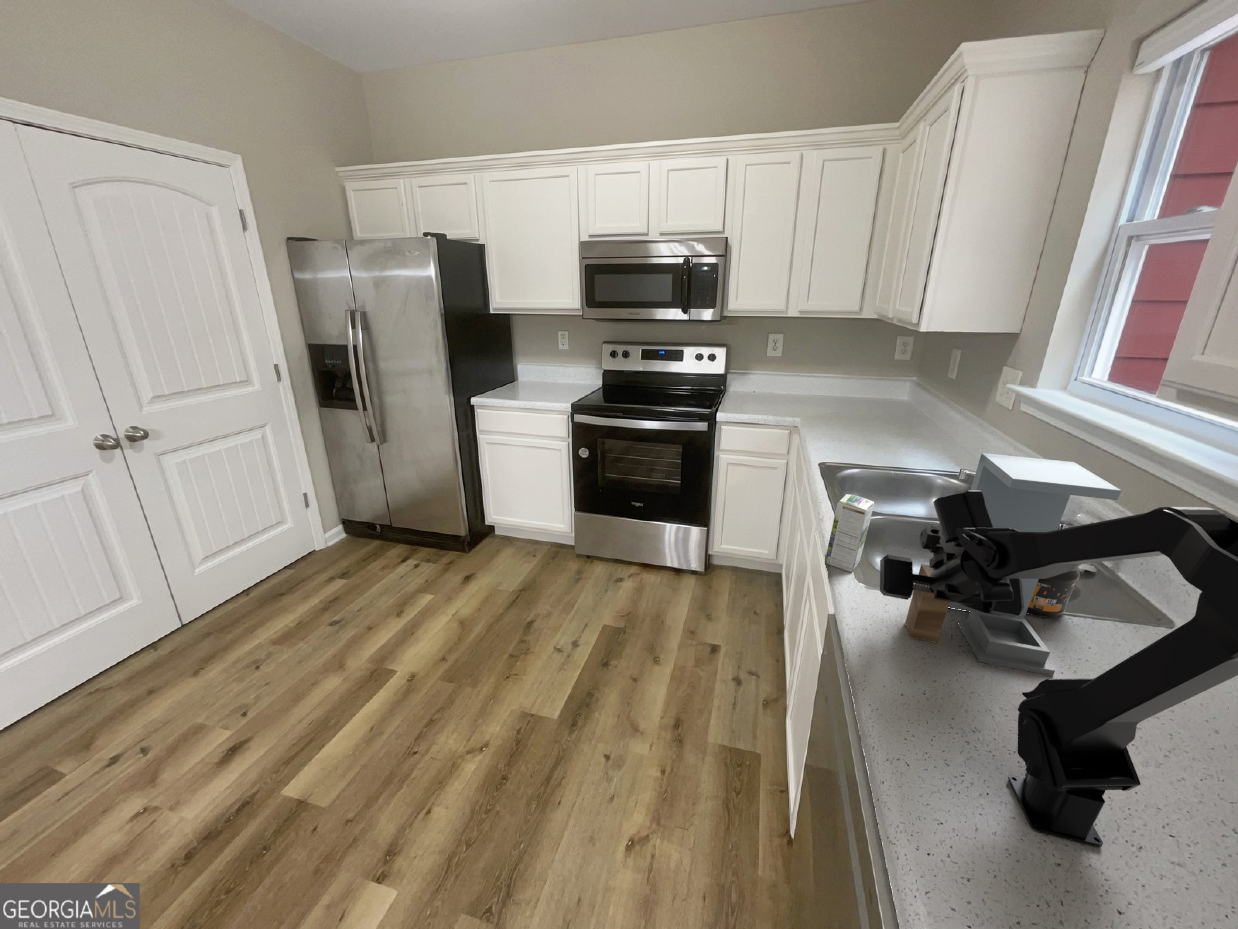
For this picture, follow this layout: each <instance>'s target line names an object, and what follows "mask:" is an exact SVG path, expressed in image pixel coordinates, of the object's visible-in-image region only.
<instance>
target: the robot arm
mask: <svg viewBox="0 0 1238 929" xmlns="http://www.w3.org/2000/svg"><path fill="white" fill-rule="evenodd" d="M932 503H933V506H934V509H935V513H936V516H937V519H938V523H939V525H938V526H935V525H931V526H930V527H925V528H923V529H922V530H921V532H920V534H919V541H920V547H921V549H923V550H928V551H929V552H930V553H932V554H933V557H931V558H930V559H929V563H928V564H929V565H930V568H933V571H932V572H931V574H930V576H923V575H918V574H915V573H914V572H913V571H914V570H913V568H914V566H913V565H914V564H913V563H914V562H913V560H912V558H910V557H908V556H907V557H906V556H898V555H893V554H885V556H883V557H882V558H881V559H880V560H879V592H880V594H882V595H883V596H884V597H890V598H895V599H900V600H909V599H911V598H912V596H913V592H914V590H916V591H922V592H928V593H934V599H937V600H943V601H949V602H955V603H958V604H960V605H963V606H966V607H969V608H972V609H974V610H977V611H980V612H983V613H988V614H994V615H1000V616H1008V617H1016V616H1019V615H1020V614H1021V613H1023V610H1024V600H1023V590H1022V581H1021V580H1020V579H1045V578H1050V577H1053V576H1056V575H1059V574H1063V573H1066V572H1068V571H1070V570H1071V569H1072V568H1073V567H1075V566H1078V565H1080V566H1081V565H1085V564H1086V565H1087V564H1096V563H1103V562H1112V561H1121V560H1129V559H1130V560H1132V559H1138V558H1141V559H1142V558H1148V557H1157V556H1158V557H1159V556H1165V557H1167V558H1168V559H1169V560H1170V561H1171V562H1172V564H1173V566H1174V567H1175V568H1176V570H1177V571H1178V572H1179V574H1180V575H1181V577H1182V578H1183V580H1185V582H1187V583H1188V584H1190V585H1191V586H1193V587H1194V588H1196V589H1197V590H1199V591H1200V593H1199V595H1198V600H1197V603H1196V610H1195V613H1194V616H1193V617H1192V618H1191V619H1189V621H1187V622H1185V623H1183V624H1182V625H1179V627H1177V628H1175V629H1174V630H1171V632H1169V633H1167V634H1165V635H1164V636H1162V637H1161V638H1159V639H1157V640H1156V641H1154V642H1152V643H1150V644H1149V645H1147V646H1146V647H1144V648H1142V649H1140V650H1139V651H1138V652H1136V653H1134V654H1132V655H1131V656H1129V657H1127V658H1126V659H1124V660H1122V661H1120V662H1119V663H1117V664H1116V665H1114V666H1112V667H1111V668H1109V669H1108V670H1106V671H1105V672H1103V673H1102V674H1099V675H1098V676H1096V677H1094V678H1093V677H1092V678H1086V677H1085V678H1045V679H1044V680H1042V681H1041V682H1039V683H1038V684H1037V685H1036V686H1035V688H1034V689H1033V690H1030V691H1022V692H1021V695H1022V696H1023V697H1024V698H1025V699H1023V700H1022V701H1021V702H1020V703H1019V705H1018V708H1017V712H1018V717H1017V755H1018V756H1019V757H1020V758H1021V759H1022V761H1023V762H1024V765H1025V774H1024V776H1025V777H1021V776H1017V775H1011V774H1010V775H1009V776H1008V778H1007V781H1008V782H1009V784H1010V787H1011V789H1012V791H1013V793H1014V795H1015V797H1016V799H1017V801H1018V804H1019V805H1020V807H1021V810H1022V812H1023V815H1024V816H1025V818H1026V820H1027V823H1028V824H1029V826H1030V828H1031V829H1032V830H1034V831H1035V832H1039V833H1042V834H1045V835H1049V836H1053V837H1058V838H1061V839H1065V840H1069V841H1073V842H1076V843H1081V844H1085V845H1088V846H1093V847H1097V848H1101V847H1102V846H1103V844H1104V842H1103V840H1102V838H1101V836H1100V834H1099V833H1098V831H1097V830H1096V828H1095V827H1094V824H1095V822H1096V820H1097V818H1099V817H1098V816H1099V815H1100V812H1101V811H1102V809H1103V807H1104V805H1105V803H1106V801H1105V798H1104V795H1105V793H1106V791H1123V792H1127V791H1131V790H1133V789H1135V788H1137V787H1138V786H1139V787H1140V785H1141V780H1140V778H1139V775H1138V773H1137V771H1136V768H1135V765H1134V763H1133V759H1132V757H1131V755H1130V752H1129V750H1128V748H1127V746H1128V745H1129V744H1131V743H1132V742H1133V741H1134V740H1135V739H1136V734H1137V726H1138V724H1140V723H1141V722H1143V721H1144V720H1147V719H1149V718H1152V717H1153V716H1156V715H1158V714H1160V713H1162V712H1164V711H1166V710H1168V709H1171V708H1172V707H1174V706H1176V705H1178V704H1181V703H1183V702H1185V701H1187V700H1189V699H1191V698H1194V697H1196V696H1197V695H1199V694H1202V693H1203V692H1206V691H1207V690H1210V689H1212V688H1214V687H1217V686H1219V685H1221V684H1222V683H1226V681H1229V680H1231V679H1233V678H1236V677H1237V676H1238V519H1236V518H1235V517H1233V516H1231V515H1229V514H1227V513H1224V512H1221V511H1219V510H1217V509H1216V508H1215V509H1214V508H1210V507H1208V506H1207V507H1206V506H1202V507H1201V506H1160V507H1157V508H1154V509H1152V510H1150V511H1148V512H1145V513H1139V514H1132V515H1128V516H1122V517H1118V518H1113V519H1107V520H1102V521H1097V522H1092V523H1091V522H1090V523H1085V524H1080V525H1075V526H1070V527H1066V528H1058V529H1057V530H1054V531H1048V532H1023V531H1020V530H1017V529H1015V528H992V527H993V525H992V523H991V520H990V517H989V514H988V511H987V508H986V505H985V500H984V496H983V494H982V491H980V490H971V489H970V490H968V489H967V490H965V491H964V492H962V493H961V492H960V493H954V494H950V495H947V496H939V497H937V498H936V499H934V500H933V502H932ZM916 583H917V584H918V585H917V584H916ZM919 584H921V585H919ZM922 584H923V586H922ZM925 585H927V586H926V587H925ZM928 585H929V587H928Z"/></svg>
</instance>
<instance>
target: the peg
mask: <svg viewBox="0 0 1238 929" xmlns="http://www.w3.org/2000/svg"><path fill="white" fill-rule="evenodd" d="M932 571H933V568H930V564H925V563H921V564H920V567H919V571H918V574H917V575H923V576H930V574H931V572H932ZM916 584H917V583H916ZM917 585H918V584H917ZM919 585H921V584H919ZM922 586H923V584H922ZM926 586H927V585H925V587H926ZM928 587H929V585H928ZM910 599H911V600H910V604H909V607H908V610H907V615H906V618H905V622H904V624H905V627H906V626H907V627H906V629H907V632H908V634H909V637H910V639H914V640H920V641H925V642H931V643H937V644H938V642H939V639H940V636H941V634H942V629H943V625H944V622H945V620H946V616H947V612H948V610H949V609H948V607H949V604H950V602H949V601H943V600H937V599H934V593H928V592H922V591H916V590H913V592H912V596H911V598H910Z"/></svg>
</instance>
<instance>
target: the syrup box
mask: <svg viewBox="0 0 1238 929" xmlns="http://www.w3.org/2000/svg"><path fill="white" fill-rule="evenodd" d="M874 505H875V502H874V501H873V500H871V499H868V498H865V497H862V496H857V495H854V494H848V493H846V494H845V495H844V496H843V497H842V498H841V499H840V500H839V501H838V502H837V504H836V507H835V508H836V509H835V514H834V517H833V522H832V525H831V526H832V527H831V530H830V537H829V540H828V545H827V550H826V553H825V558H824V564H827V565H829V566H832V567H834V568H836V569H837V568H838V569H841V570H843V571H846V572H849V573H853V572H854V570H856V568H857V566H858V565H859V564H860V562H861V560H862V554H863V551H864V546H865V543H866V538H867V534H868V532H869V528H870V523H871V519H872V514H873V510H874ZM859 561H860V562H859ZM858 563H859V564H858Z"/></svg>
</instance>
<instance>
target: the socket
mask: <svg viewBox="0 0 1238 929" xmlns="http://www.w3.org/2000/svg"><path fill="white" fill-rule="evenodd" d="M957 622H958V623H959V625H960V627H961V629H960V630H961V632H962V631H963V632H962V634H963V633H964V634H963V636H964V635H965V636H964V638H965V639H966V641H967V643H968V645H969V647H970V648H971V650H972V653H973V654H974V655H975V657H976V660H977V661H978V663H984V664H989V665H995V666H999V667H1004V668H1010V669H1015V670H1019V671H1020V670H1021V671H1025V672H1031V673H1036V674H1040V675H1041V674H1042V675H1045V676H1052V677H1054V675H1055V672H1056V670H1055V668H1054V667H1053V665H1052V664H1051V663H1050V662H1049V659H1048V658H1049V656H1050V654H1051V651H1050V650H1049V649H1048V647H1047V646H1046V645H1045V643H1044V642H1043V641H1042V639H1041V638H1040V636H1039V635H1038V634H1037V633H1036V631H1035V630H1034V628H1032V626H1031V624H1030V623H1029V622H1028V621H1027V619H1025V618H1024V619H1019V618H1013V617H1007V616H1000V615H994V614H988V613H983V612H978V611H972V610H971V611H970V613H969V615H968V618H967V619H966V618H962V617H961V618H960V617H959V618H958V620H957ZM958 623H957V624H958ZM959 625H958V626H959ZM960 627H959V628H960Z"/></svg>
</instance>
